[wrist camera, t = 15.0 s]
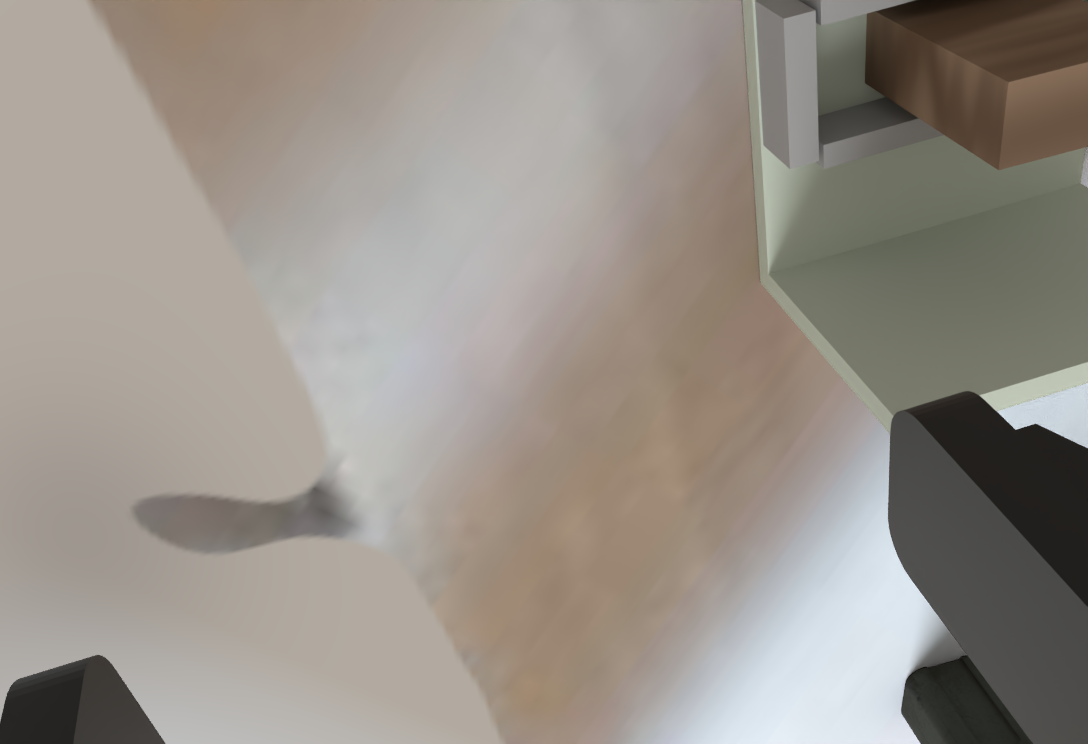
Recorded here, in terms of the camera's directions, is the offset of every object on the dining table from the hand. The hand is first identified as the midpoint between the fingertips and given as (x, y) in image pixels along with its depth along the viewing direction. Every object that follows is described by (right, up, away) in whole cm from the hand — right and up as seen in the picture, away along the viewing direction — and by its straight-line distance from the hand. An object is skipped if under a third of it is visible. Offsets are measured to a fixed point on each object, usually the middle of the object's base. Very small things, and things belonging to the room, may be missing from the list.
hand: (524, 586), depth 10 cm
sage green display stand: (+16, +14, +33) cm, 39 cm away
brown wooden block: (+16, +16, +30) cm, 37 cm away
